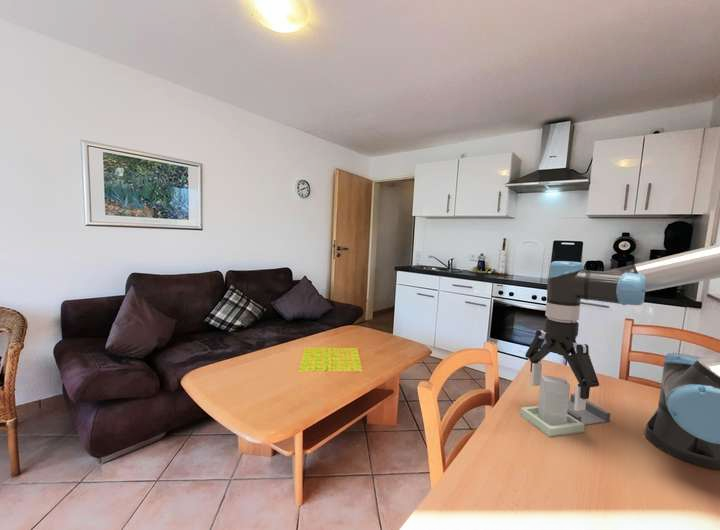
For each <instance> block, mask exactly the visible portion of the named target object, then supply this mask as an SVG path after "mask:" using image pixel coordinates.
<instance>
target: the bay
mask: <svg viewBox="0 0 720 530" xmlns="http://www.w3.org/2000/svg"><path fill="white" fill-rule="evenodd" d="M574 402H575V393H570V395H569V401H568V412H567V414H569V415H570V416H572V417H573V418H575V419H577V420H578V421H580V422H581V423H583V424H584V426H589V425H597V424H604V423H610V422H611V414H612V413H611V412H609V411H607V410H605V409H603V408H602V407H600V406H598V405H596V404H594V403H592V402H591V401H589V400H588V399H586V407H585V410H581V411H576V410H574Z"/></svg>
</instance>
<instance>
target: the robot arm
mask: <svg viewBox="0 0 720 530" xmlns="http://www.w3.org/2000/svg"><path fill="white" fill-rule="evenodd" d="M716 279H720V243H718V244H714V245H710V246H706V247H705V246H704V247H701V248H697V249H692V250H688V251H684V252H680V253H675V254H672V255H671V254H670V255H668V256H663V257H659V258H656V259H655V258H654V259H651V260H647V261H642V262H638V263H635V264H631V265H626V266H622V267H619V268H612V269H607V270H605V271H600V270H588V269H585V268H584V264H583V263H582V262H579V261H567V260H563V261H562V260H555V261H552V262H551V263H550V264H549V266H548V276H547V284H546V285H547V289H546V303H545V304H546V305H545V316H546V317H545V319H544V327H543V328H544V329H543V330H541V329H540V330H536V331H535V336H534V338H533V339H532V341H531V343H530V345H529V347H528V349H527V351H526V353H525V354H524V356H525V358H526V359H529V362H530V373H531V375H530V376H531V377H530V378H531V379H530V385H531V386H532V387H535V386H540V380H541V375H542V369H543V363H542V360H543V359H544V358H545V357H546V356H547V355H549V354H550V353H555V354H557V355H558V356H561V357H563V359H564V360H565V361H567V363H568V365H569V367H570V369H571V371H572V372H573V375H574V376H575V379H576V381H577V382H578V383H576V384H575V391H574V392H575V393H574V394H575V402H574V410H576V411H581V410H585V407H586V400H588V399H589V398H590V393H591V392H590V390H591V388H596V387H599V386H600V382H599V380H598V377H597V374H596V370H595V369H594V366H593V362H592V360H591V356H590V353H589V352H590V351H589V345H588V344H586V343H582V344H581V343H578V342H577V337H578V336H579V324H580V323H579V322H578V321H579V320H580V312H581V311H580V310H581V308H580V307H581V300H586V301H597V302H604V303H610V304H611V303H612V304H617V305H618V304H620V305H622V306H626V305H629V306H642V305H643V304H644V302H645V295H646V292H651V291H656V290H657V291H658V290H663V289H667V288H673V287H677V286H684V285H688V284H693V283H698V282H704V281H709V280H716ZM545 341H546V342H545ZM544 342H545V343H544ZM662 364H663V370H662V376H661V383H660V392H659V397H658V406H657V408H656V410H655V411H654V412H653V414H652V415H651V417H650V418H649V420H648V421H647V423H646V424H645V430H644V435H645V436H646V438H647V440H648V441H650V442H651V443H652V444H653V445H655V446H656V447H657V448H658V449H661V450H662V451H664V452H666V453H668V454H670V455H671V456H674V457H676V458H679V459H680V460H683V461H686V462H688V463H691V464H694V465H696V466H701V467H704V468H709V469H712V470H720V352H719V353H718V354H717V355H716V356H714V357H709V358H708V357H707V358H705V357H700V356H695V355H690V354H684V353H680V352H679V353H677V352H669V353H667V354H665V357H664V360H663V361H662Z"/></svg>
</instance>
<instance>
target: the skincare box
mask: <svg viewBox="0 0 720 530" xmlns="http://www.w3.org/2000/svg"><path fill="white" fill-rule="evenodd" d="M570 388H571V384H570V383H569V382H568V380H567V379H565V377H563V378H562V377H557V376H550V375H543V374H541V380H540V385H539V395H538V405H537V406H538V417H539V419H541V420H542V421H544V422H545V423H546V424H549V425H554V426H557V425H564V424H566V422H567V412H568V401H570Z"/></svg>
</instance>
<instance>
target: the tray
mask: <svg viewBox="0 0 720 530" xmlns="http://www.w3.org/2000/svg"><path fill="white" fill-rule="evenodd" d="M519 411H520V412H519V415H520V416H521V417H522V418H523V419H525V420H526V421H527V422H529V423H530V424H531V425H532V426H534V427H535V428H537V429H538V430H539V431H541V432H542V433H543V434H545V436H547V437H549V438H554V437H555V438H556V437H561V436H568V435H573V434H581V433H584V432H585V425H584V424H583V423H581V422H580V421H578V420H577V419H575V418H573V417H572V416H570V415H569V414H567V422H566V424H564V425H557V426H554V425H549V424H546V423H545V422H544V421H542V420H541V419H539V417H538V405H533V406H532V405H531V406H525V407H520V410H519Z"/></svg>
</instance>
